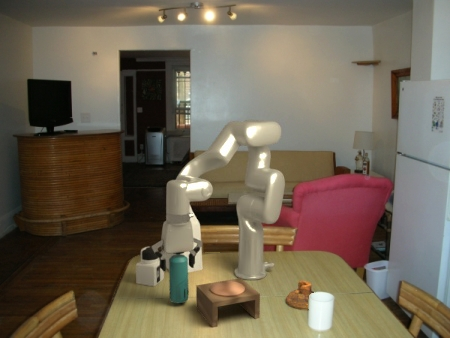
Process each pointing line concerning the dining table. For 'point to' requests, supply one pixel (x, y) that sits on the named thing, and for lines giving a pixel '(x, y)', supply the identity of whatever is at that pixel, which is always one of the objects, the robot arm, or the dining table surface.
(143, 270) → the container
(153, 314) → the dining table surface
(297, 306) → the candle holder
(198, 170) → the robot arm
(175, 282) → the beverage bottle
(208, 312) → the wooden u-channel bracket
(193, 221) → the milk
